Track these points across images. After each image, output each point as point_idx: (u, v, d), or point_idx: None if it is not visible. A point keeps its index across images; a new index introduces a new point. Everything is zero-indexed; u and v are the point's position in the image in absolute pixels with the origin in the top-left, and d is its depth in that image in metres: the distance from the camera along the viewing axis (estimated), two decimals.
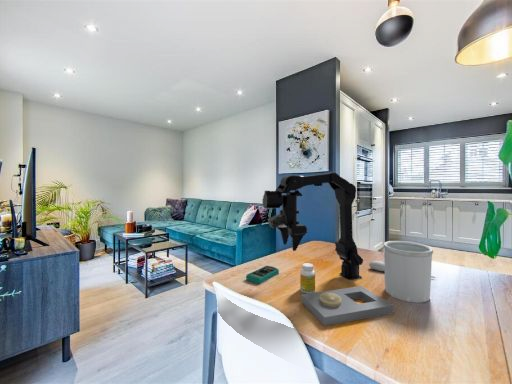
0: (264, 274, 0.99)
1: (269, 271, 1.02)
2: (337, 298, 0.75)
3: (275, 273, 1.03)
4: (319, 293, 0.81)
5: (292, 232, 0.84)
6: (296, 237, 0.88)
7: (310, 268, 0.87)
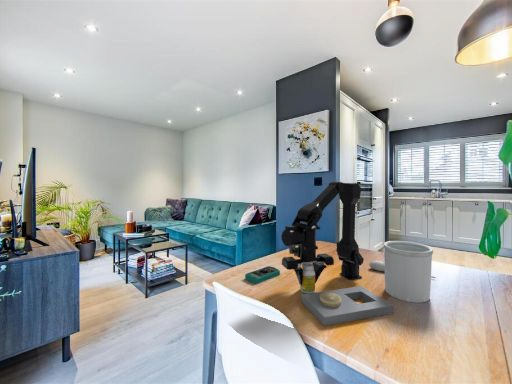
0: (263, 274, 0.99)
1: (269, 272, 1.02)
2: (337, 298, 0.75)
3: (275, 274, 1.02)
4: (319, 293, 0.81)
5: None
6: (298, 271, 0.87)
7: (310, 268, 0.87)
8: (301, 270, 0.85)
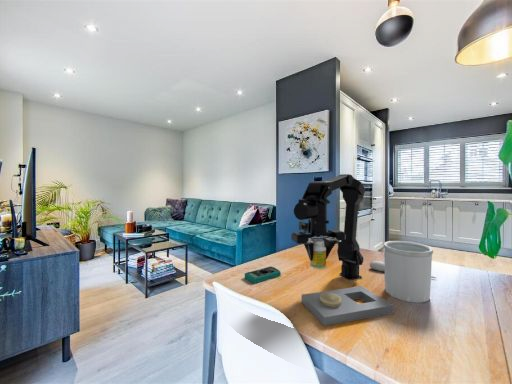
0: (262, 274, 0.99)
1: (269, 272, 1.01)
2: (337, 298, 0.75)
3: (275, 275, 1.01)
4: (319, 293, 0.81)
5: None
6: (308, 246, 0.85)
7: (321, 243, 0.84)
8: (312, 244, 0.82)
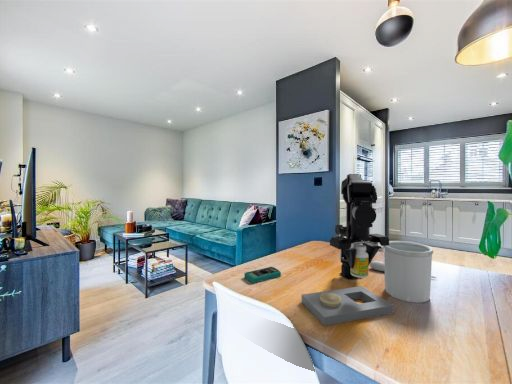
0: (261, 274, 0.99)
1: (269, 272, 1.01)
2: (337, 298, 0.75)
3: (275, 275, 1.01)
4: (319, 293, 0.81)
5: None
6: (349, 252, 0.77)
7: (363, 249, 0.76)
8: (354, 250, 0.74)
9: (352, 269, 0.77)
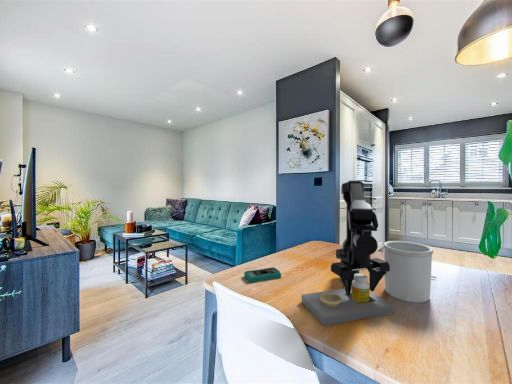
0: (260, 274, 0.99)
1: (269, 273, 1.00)
2: (337, 298, 0.75)
3: (275, 276, 1.00)
4: (319, 293, 0.81)
5: None
6: (345, 279, 0.76)
7: (364, 280, 0.76)
8: (351, 278, 0.74)
9: (353, 299, 0.78)
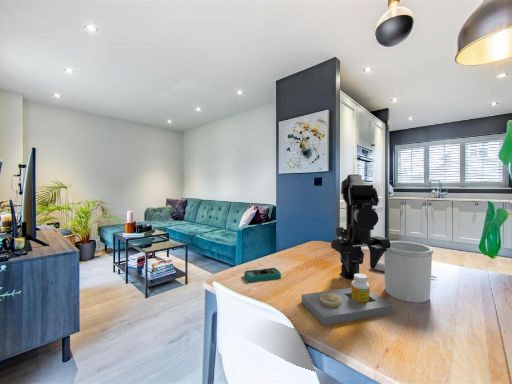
0: (259, 274, 0.99)
1: (268, 273, 1.00)
2: (337, 298, 0.75)
3: (274, 276, 0.99)
4: (319, 293, 0.81)
5: None
6: (345, 255, 0.76)
7: (364, 280, 0.76)
8: (351, 254, 0.73)
9: (353, 299, 0.78)
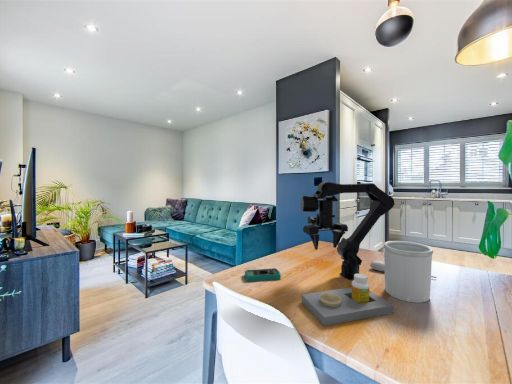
0: (258, 274, 0.99)
1: (268, 273, 1.00)
2: (337, 298, 0.75)
3: (274, 277, 0.99)
4: (319, 293, 0.81)
5: None
6: (314, 237, 0.99)
7: (364, 280, 0.76)
8: (317, 235, 0.96)
9: (353, 299, 0.78)
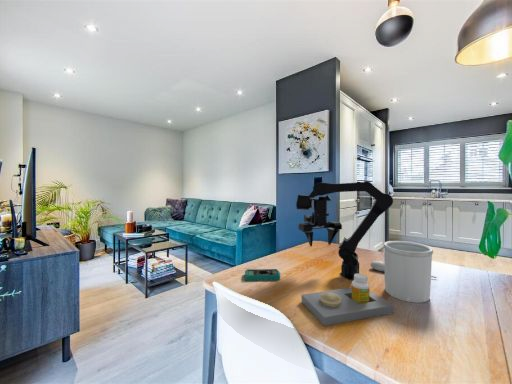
0: (257, 274, 0.99)
1: (267, 273, 1.00)
2: (337, 298, 0.75)
3: (273, 278, 0.98)
4: (319, 293, 0.81)
5: None
6: (308, 234, 1.04)
7: (364, 280, 0.76)
8: (311, 233, 1.02)
9: (353, 299, 0.78)
